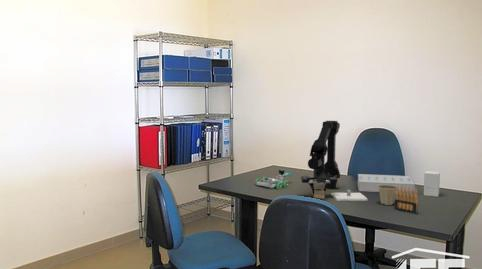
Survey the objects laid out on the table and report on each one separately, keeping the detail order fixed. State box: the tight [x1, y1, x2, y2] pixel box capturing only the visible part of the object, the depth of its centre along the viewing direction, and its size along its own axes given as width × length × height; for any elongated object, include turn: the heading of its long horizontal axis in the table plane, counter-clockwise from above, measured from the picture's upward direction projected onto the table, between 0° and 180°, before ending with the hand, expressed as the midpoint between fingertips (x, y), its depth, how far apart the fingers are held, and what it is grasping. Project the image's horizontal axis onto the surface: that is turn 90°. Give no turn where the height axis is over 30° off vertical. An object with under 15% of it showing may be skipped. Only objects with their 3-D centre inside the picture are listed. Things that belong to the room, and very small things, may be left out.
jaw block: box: [312, 187, 326, 199], centre depth 225 cm, size 7×5×4 cm
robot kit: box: [254, 168, 294, 190], centre depth 254 cm, size 19×25×9 cm
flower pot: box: [378, 185, 397, 206], centre depth 211 cm, size 9×9×9 cm
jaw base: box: [330, 189, 368, 202], centre depth 223 cm, size 13×16×4 cm
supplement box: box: [423, 170, 441, 197], centre depth 229 cm, size 7×7×13 cm
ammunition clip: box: [393, 185, 419, 215], centre depth 197 cm, size 11×2×12 cm, turn 44°
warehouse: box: [357, 173, 416, 195], centre depth 242 cm, size 30×14×8 cm, turn 77°
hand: (318, 194), depth 225 cm, fingers closed on jaw block, 5 cm apart
